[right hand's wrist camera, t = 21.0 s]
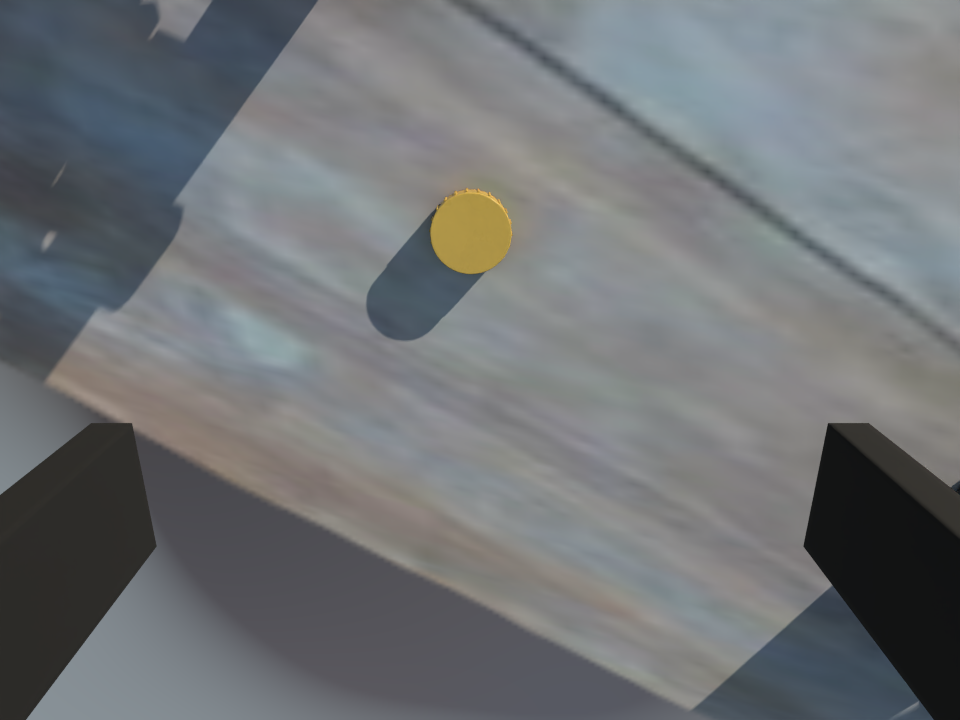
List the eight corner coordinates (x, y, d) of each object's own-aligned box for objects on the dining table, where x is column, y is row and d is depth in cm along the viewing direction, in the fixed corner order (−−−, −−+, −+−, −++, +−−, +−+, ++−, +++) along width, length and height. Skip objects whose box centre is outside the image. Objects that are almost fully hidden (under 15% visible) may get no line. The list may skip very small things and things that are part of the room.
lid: (460, 171, 37) (460, 174, 36) (527, 219, 38) (529, 224, 36) (415, 238, 38) (412, 244, 37) (480, 283, 39) (481, 291, 38)
